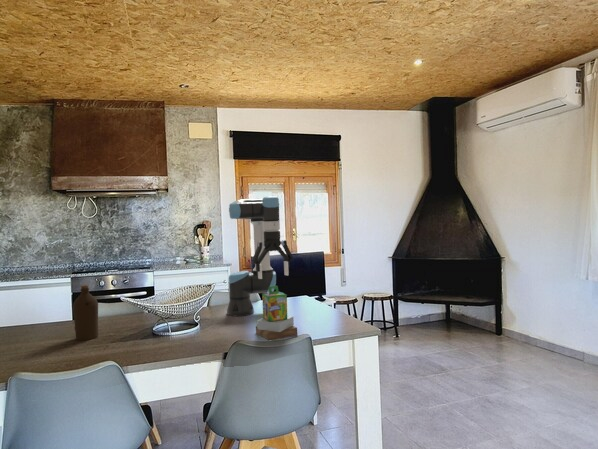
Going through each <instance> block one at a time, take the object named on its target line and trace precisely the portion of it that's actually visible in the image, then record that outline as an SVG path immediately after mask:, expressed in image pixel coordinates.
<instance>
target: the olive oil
mask: <svg viewBox="0 0 598 449" xmlns="http://www.w3.org/2000/svg"><path fill="white" fill-rule="evenodd" d="M72 313H73V314H72V315H73V321H74V332H75V340H76V341H82V342H83V341H89V340H93V339H96V338H98V337H99V303H98V300H97V298H96V297H95V296H94V295H92V294H91V293H90V288H89V284H82V285H80V294H79V296H77V298H76V299H75V300H74V302H73V305H72Z"/></svg>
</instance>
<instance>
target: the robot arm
mask: <svg viewBox="0 0 598 449" xmlns="http://www.w3.org/2000/svg"><path fill="white" fill-rule="evenodd" d="M228 206H229V207H228V213H229V214H228V215H229V218H230V219H231V220H233V219H234V220H238V219H240V220H249V221H250V223H251V225H252V228H253V244H254V245H253V246H254V247H253V249H254V250H253V251H254V254H253V257H252V259H251V263H252V264H254V268H253V269H252V272H250V271H249V270H241V271H236V272H233V273H231V274H229V276H228V296H229V297H228V298H229V302H228V304H227V309H226V315H227V316H229V317H242V316H248V315H251V314H254V312H255V310H254V309H255V308H254V305H253V303H252V300H251V294H252V295H253V294H263V293H269V287H271V286H277V285H276V284H277V273H276V271H275V270H274V268H272V266H271V257H270V253H271V252H273V251H274V252H276V251H277V252H278V253H279V254H280V256H281V257H282V258H283V259H284V260H285V261H284V260H283V271H284V272H283V273H284V276H287V277H288V276H289V273H290V271H289V268H291V265H290V264H291V263H290V262H291V261H292V260H294V256H293V254H292V252H291V250H290V248H289V246H288V244H287V243H288V242H287V240H285V239H283V240H282V239H281V231H280V229H281V226H280V225H281V223H280V201H279V197H277V196H265V197H263V198H243V199H238V200H235V201H233V202H231V203H229V205H228ZM281 246H282V248H281ZM271 291H272V292H275V289H272V290H271Z"/></svg>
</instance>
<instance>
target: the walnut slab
mask: <svg viewBox="0 0 598 449" xmlns="http://www.w3.org/2000/svg"><path fill="white" fill-rule="evenodd" d="M255 334H256V335H258V336H260V337H262V338H264V339H266V340H268V341H269V340H272V341H276V340H279V339H284V338H289V337H293V336H297V335H298V327H297V326H295V325H293V326H291V327H289V328H287V329H285V330H283V331H281V332H275V331H267V330H259V329H258V328H257V326H255Z"/></svg>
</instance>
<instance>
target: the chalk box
mask: <svg viewBox="0 0 598 449" xmlns="http://www.w3.org/2000/svg"><path fill="white" fill-rule="evenodd" d="M272 289H274V291H273V292H272V291H271V290H272ZM261 295H262V297H261V298H262V318H264V319H266V320H268V321H269V322H271V321H278V320H286V319H287V316H288V297H287V296H288V294H286V293H284V292H281V291H279V286H278V285H275V286H271V287H269V292H267V293H261Z"/></svg>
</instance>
